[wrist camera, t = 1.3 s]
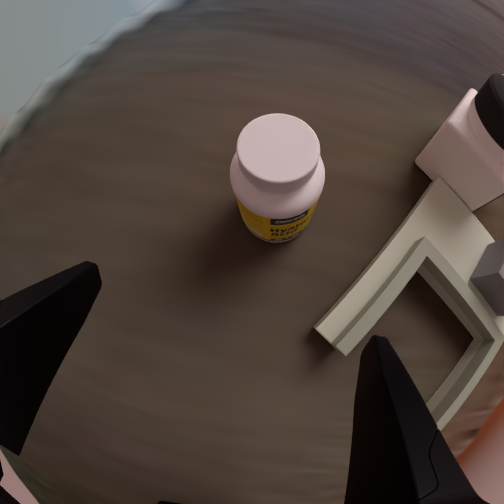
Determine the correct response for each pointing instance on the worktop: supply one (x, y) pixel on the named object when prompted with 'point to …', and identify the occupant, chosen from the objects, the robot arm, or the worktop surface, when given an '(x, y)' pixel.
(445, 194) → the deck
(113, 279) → the worktop surface
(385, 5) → the worktop surface
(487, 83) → the medicine bottle
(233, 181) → the supplement bottle
